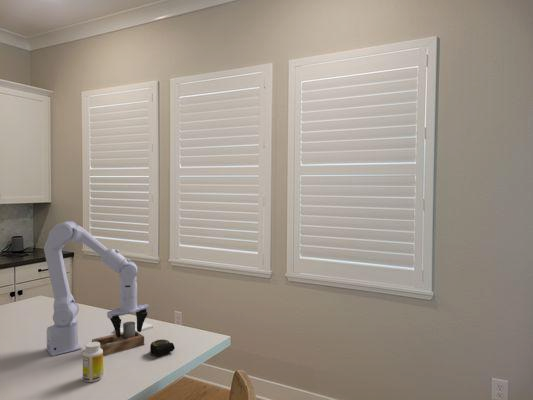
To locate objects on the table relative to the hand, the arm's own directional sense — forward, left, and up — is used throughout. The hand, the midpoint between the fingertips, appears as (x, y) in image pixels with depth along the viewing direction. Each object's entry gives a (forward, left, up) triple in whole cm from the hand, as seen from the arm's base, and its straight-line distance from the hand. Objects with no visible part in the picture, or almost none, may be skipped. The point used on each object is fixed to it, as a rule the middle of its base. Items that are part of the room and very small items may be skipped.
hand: (128, 333), depth 145 cm
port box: (-4, 0, -4) cm, 5 cm away
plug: (0, 0, -3) cm, 3 cm away
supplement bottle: (-18, -18, -4) cm, 26 cm away
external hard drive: (+7, +12, -4) cm, 15 cm away
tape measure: (+6, -15, -4) cm, 17 cm away
